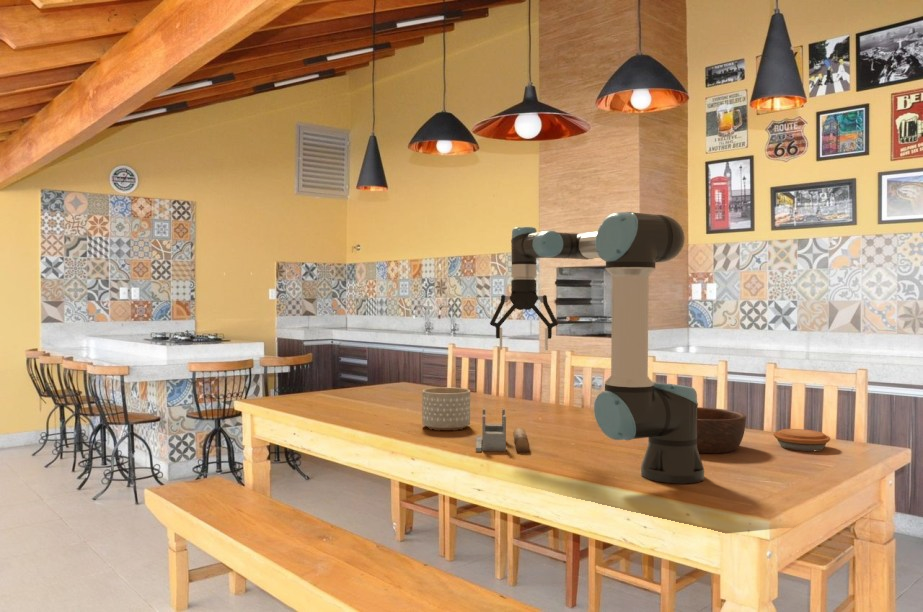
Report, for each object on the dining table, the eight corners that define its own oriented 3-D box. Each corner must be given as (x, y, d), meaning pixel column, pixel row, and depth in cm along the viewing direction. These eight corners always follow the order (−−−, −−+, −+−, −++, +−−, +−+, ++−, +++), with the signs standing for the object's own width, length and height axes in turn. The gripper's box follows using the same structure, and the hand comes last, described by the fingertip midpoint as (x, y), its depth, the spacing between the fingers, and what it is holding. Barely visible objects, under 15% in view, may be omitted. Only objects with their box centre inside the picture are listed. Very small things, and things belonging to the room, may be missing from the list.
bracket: (506, 452, 207) (506, 417, 207) (475, 451, 208) (475, 417, 208) (504, 439, 226) (504, 407, 226) (476, 439, 227) (476, 407, 227)
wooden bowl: (688, 458, 200) (688, 421, 200) (642, 441, 225) (642, 408, 224) (764, 453, 207) (764, 418, 207) (712, 437, 231) (712, 405, 231)
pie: (800, 441, 226) (800, 425, 226) (842, 451, 211) (842, 433, 211) (761, 444, 220) (761, 428, 220) (802, 455, 206) (802, 437, 206)
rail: (528, 454, 207) (530, 440, 207) (515, 452, 207) (516, 438, 207) (525, 440, 226) (526, 428, 226) (512, 439, 226) (513, 427, 226)
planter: (416, 430, 242) (416, 392, 241) (429, 422, 257) (430, 386, 257) (463, 432, 238) (464, 394, 237) (474, 424, 254) (475, 388, 253)
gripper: (564, 279, 220) (564, 349, 220) (482, 279, 221) (482, 348, 221) (566, 278, 212) (566, 350, 213) (482, 278, 214) (481, 350, 214)
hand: (523, 349), depth 217 cm, fingers open, 13 cm apart
